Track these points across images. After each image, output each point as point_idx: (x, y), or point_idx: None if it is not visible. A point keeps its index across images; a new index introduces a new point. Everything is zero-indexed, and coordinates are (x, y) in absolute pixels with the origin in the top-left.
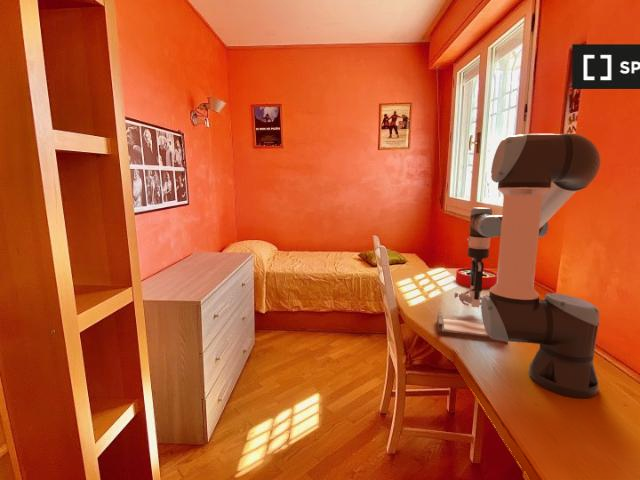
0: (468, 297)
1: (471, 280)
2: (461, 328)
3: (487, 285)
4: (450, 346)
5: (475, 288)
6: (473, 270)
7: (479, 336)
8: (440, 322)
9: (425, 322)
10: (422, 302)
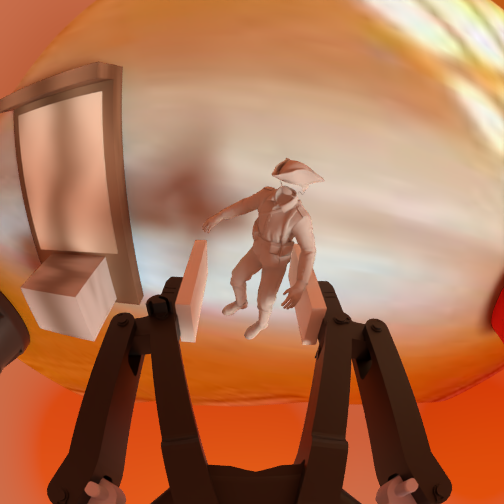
0: (265, 248)
1: (334, 344)
2: (40, 171)
3: (497, 316)
4: None
5: (109, 330)
6: (166, 468)
7: (31, 223)
8: (3, 103)
9: (100, 28)
10: (378, 18)
